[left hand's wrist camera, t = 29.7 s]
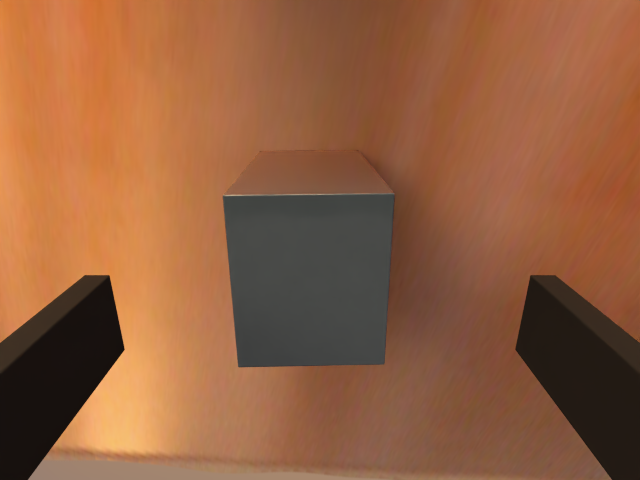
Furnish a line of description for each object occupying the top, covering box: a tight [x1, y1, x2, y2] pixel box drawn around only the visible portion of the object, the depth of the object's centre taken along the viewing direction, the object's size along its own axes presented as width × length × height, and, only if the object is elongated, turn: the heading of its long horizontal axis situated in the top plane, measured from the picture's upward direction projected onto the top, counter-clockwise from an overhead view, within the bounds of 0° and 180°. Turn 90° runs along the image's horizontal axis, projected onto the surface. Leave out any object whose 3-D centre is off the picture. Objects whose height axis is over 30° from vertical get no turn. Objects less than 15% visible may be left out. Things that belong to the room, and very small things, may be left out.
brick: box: [223, 150, 395, 367], centre depth 20 cm, size 6×7×11 cm
